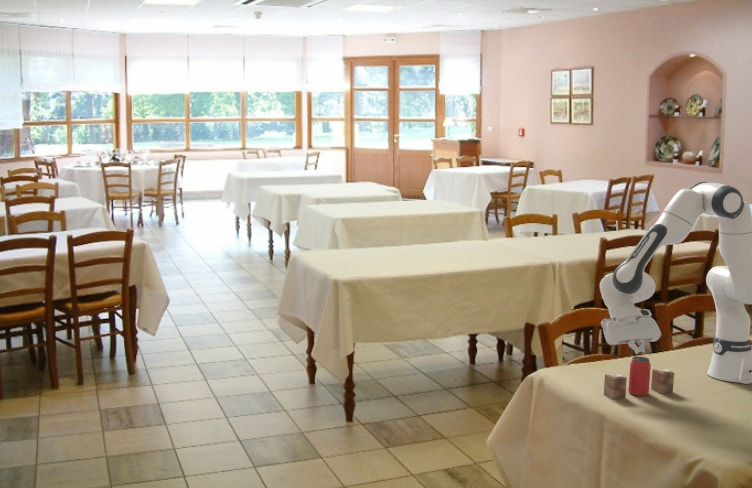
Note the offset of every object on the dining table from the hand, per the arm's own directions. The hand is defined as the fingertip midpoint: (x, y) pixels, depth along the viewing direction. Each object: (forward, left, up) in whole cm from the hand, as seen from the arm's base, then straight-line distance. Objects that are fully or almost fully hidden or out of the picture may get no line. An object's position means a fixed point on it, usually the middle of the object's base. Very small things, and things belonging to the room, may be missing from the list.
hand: (640, 353), depth 296 cm
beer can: (0, 0, -14) cm, 14 cm away
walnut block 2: (-10, 0, -14) cm, 17 cm away
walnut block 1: (+9, 0, -14) cm, 17 cm away
